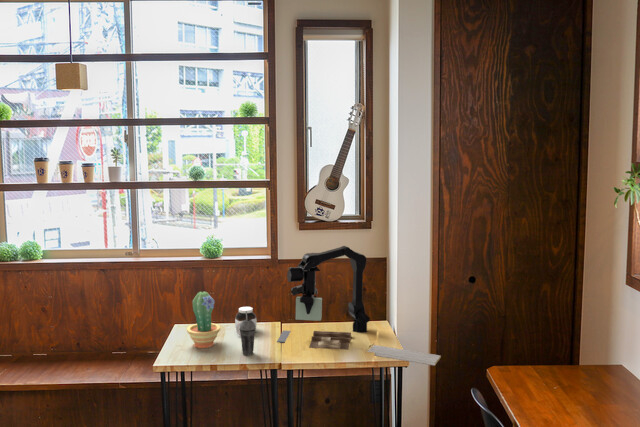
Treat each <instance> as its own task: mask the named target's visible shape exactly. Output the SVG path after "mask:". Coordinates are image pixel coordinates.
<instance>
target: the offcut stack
mask: <svg viewBox="0 0 640 427" xmlns="http://www.w3.org/2000/svg"><path fill="white" fill-rule="evenodd" d="M340 345H341V343H340V342H339V340H331V337H322V339H321V342H319V343H318V347H328V348H340Z"/></svg>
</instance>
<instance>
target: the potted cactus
mask: <svg viewBox="0 0 640 427" xmlns="http://www.w3.org/2000/svg"><path fill="white" fill-rule="evenodd" d="M215 303H216V302H215V299H214V298H213V297H212V296H211V295H210V294H209V292H207V291H198V292H197V294H195V297H194V298H193V299H192V311H193V313H194V316H195V319H196V323H195V324H191V325H188V326H187V328H186V332H187V334H188V335H189V337H190V339H191V341H192V342H193V343H194V344H193V346H195V348H198V349H201V348H203V349H205V348H210V347H212V346H214V345H215V343H214V342H215V341H216V339H217V336H218V333H219V332H221V325H219V324H217V323H213V322H212V313H213V309H214V308H215Z"/></svg>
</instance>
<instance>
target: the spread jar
mask: <svg viewBox="0 0 640 427" xmlns="http://www.w3.org/2000/svg"><path fill="white" fill-rule="evenodd" d="M253 309H254V308H253V307H251V306H241V307H239V308H238V312H237V313H236V315H235V319H234V322H235V323H234V324H235V329H236V330H235V331H236V333H237V335H239V336H240V337H241V334H240V330H239V329H240V324H241V323H242V322H243V321H244V320H246V311H247V319H249V320H252V321H253V322H254V324H255V327H256V328H257V324H258V323H257V315H256V314H255V313H254V312H253V311H254V310H253Z"/></svg>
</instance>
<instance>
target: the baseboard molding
mask: <svg viewBox="0 0 640 427" xmlns="http://www.w3.org/2000/svg"><path fill="white" fill-rule="evenodd" d="M366 351H367V352H366V353H374V356H375V357H379V356H380V357H381V358H385V357H386V359H391V358H393V360H398V361H405V362H409V363H416V364H421V365H429V366H436V365H437V363H438V362H439V361H440V359H441V358H442V355H438V354H434V353H433V354H432V353H428V352H427V353H426V352H420V351H414V350H408V349H403V348H397V347H395V348H394V347H388V346H383V345H376V344H373V345H369V347H368V348H367V350H366Z"/></svg>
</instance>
